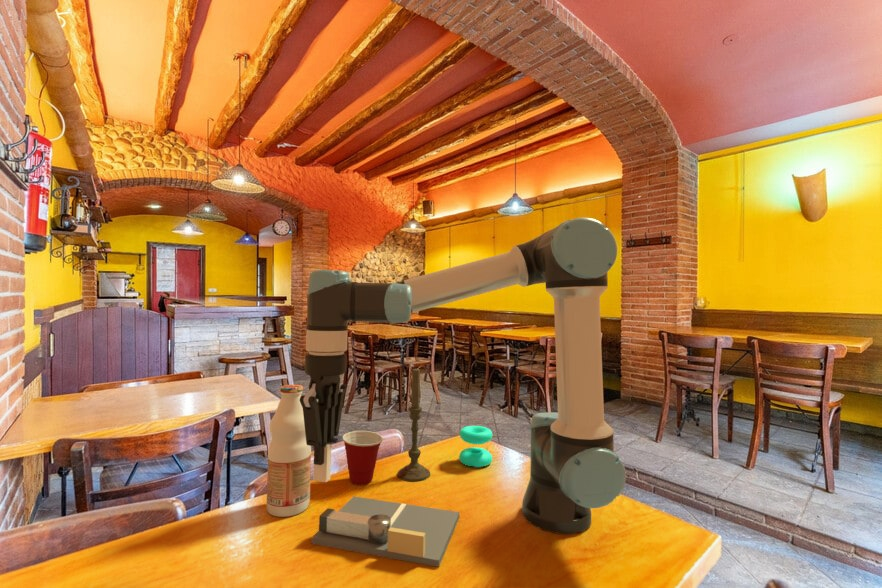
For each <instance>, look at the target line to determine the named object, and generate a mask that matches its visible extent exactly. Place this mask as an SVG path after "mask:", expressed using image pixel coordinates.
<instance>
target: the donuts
mask: <svg viewBox="0 0 882 588" xmlns="http://www.w3.org/2000/svg"><path fill="white" fill-rule="evenodd" d="M459 438H460V439H461V440H462V441H463V442H465V443H467V444H472V445H484V444H486V443H488V442H490V441H491V440H492V439H493V432H492V430H491V429H490V428H489V427H486V426H482V425H467V426H465V427H462V428H461V429H460V430H459ZM458 459H459V461H460V462H461V464H463V465H464V464H465V465H464V466H466V465H468V466H467V467H470V466H475V467H474V468H482V467H481V466H485V467H487V466H489V465H490V464H491V463H492V461H493V455H492V454H491V452H489V451H488V450H487V449H485V448H482V447H477V446H476V447H475V446H472V447H467V448H465V449H464V448H463V450H461V451H460V453H459V456H458ZM486 465H487V466H486Z"/></svg>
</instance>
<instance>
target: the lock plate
mask: <svg viewBox="0 0 882 588" xmlns="http://www.w3.org/2000/svg"><path fill="white" fill-rule="evenodd" d="M338 511H340V512H346V513H352V514H358V515H365V516H371V517H372V516H374V515H378V514H383V515H387V516H389V517H390V518H391V527H390V528H389V530H388V540H387V541H386V542H383V543H373V542H371V541H369V540H368V539H363V538H357V537H352V536H346V535H340V534H335V533H329V532H321V531H319V530H318V531H316V533H314V535H313V536H312V537H311V544H313V545H316V546H317V545H318V546H323V547H329V548H334V549H338V550H345V551H350V552H355V553H360V554H361V553H362V554H366V555H372V556H378V557H382V558H387V559H391V560H392V559H393V560H398V561H404V562H408V563H414V564H415V563H416V564H421V565H424V566H431V567H437V568H439V567H440V565H441V563H442V560H443V558H444V556H445V553H446V551H447V549H448V546H449V544H450V541H451V539H452V536H453V534H454V532H455V529H456V527H457V524H458V522H459V519H460V511H456V510H455V511H454V510H447V509H440V508H436V507H435V508H434V507H428V506H427V507H426V506H421V505H414V504H409V503H407V504H406V503H400V502H395V501H393V502H392V501H388V500H387V501H386V500H382V499H373V498H367V497H362V496H361V497H360V496H352V497H351V498H350V499H349V500H348V502H346V503H345V504H344V505H343V506H342V507H341V508H340V509H339V510H338Z"/></svg>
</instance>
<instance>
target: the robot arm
mask: <svg viewBox="0 0 882 588" xmlns="http://www.w3.org/2000/svg"><path fill="white" fill-rule="evenodd" d="M617 255H618V245H617V241H616V238H615V235H613V232H612V231H611V230H610V229H609V228H608V227H607V226H606V225H605V224H604V223H603V222H601V221H599V220H597V219H595V218H590V217H577V218H573V219H568V220H565V221H563V222H561V223H560V224H559V225H557V226H556V227H553V228H551V229H549V230H547V231H546V232H544V233H542V234H540V235H539V236H536V237H535V238H533V239H531V240H528V241H526V242H523V243H520V244H517V245H514V246H511V249H510V251H508V252H504V253H501V254H498V255H494V256H489V257H485V258H482V259H478V260H475V261H471V262H468V263H463V264H459V265H455V266H453V267H450V268H449V267H448V268H446V269H442V270H438V271H433V272H430V273H427V274H423V275H419V276H414V277H411V278H407V279H404V280H400V281H396V282H357V281H351V277H350V273H349V272H348V271H345V270H333V269H332V270H330V269H316V270H313V271H311V273H309V277H308V287H307V292H306V296H307V301H306V302H307V303H306V304H307V305H306V309H307V310H306V335H305V338H306V339H305V341H306V342H305V350H306V352H308V353H306V355H305V356H304V359H305V360H304V373H305V374H306V375H308V376H309V377H310V380H309V383H308V392H307V394H306V395H303V394H301V397H300V403H301V405H302V408H303V416H304V425H305V434H306V444H307V445H309V446H311V447H313V471H312V472H313V473H312V475H313V476H312V481H315V482H316V481H317V482H321V483H327V482H328V481H330V480H331V475H332V474H331V470H332V469H331V467H332V444H337V442H338V438H336V437H339V434H340V433H339V432H340V427H341V426H340V425H341V419H342V412H343V406H344V398H345V395H346V392H347V388H348V386H347V384H343V383H341V376H342V375H344V374H345V373H347V372H346V371H347V364H348V363H347V361H348V360H347V359H348V356H347V354H346V353H345V352H346V351H348V331H349V330H348V329H349V328H348V327H349V322H354V323H357V322H365V323H387V324H388V323H389V324H397V323H398V324H400V323H402V324H403V323H408V322H409V321H410V320H411V318H412V314H413V313H417V312H421V311H425V310H427V309H431V308H436V307H438V306H442V305H445V304H449V303H453V302H457V301H460V300H465V299H467V298H471V297H475V296H480V295H482V294H485V293H490V292H494V291H498V290H500V289H505V288H508V287H511V286H516V285H520V286H521V287H524V288H525V287H528V286H533V285H536V284H545V291H546V292H547V293H548V294H549V295H550V296H552V299H553V308H554V309H553V310H554V311H553V312H554V314H553V315H554V337H555V342H554V343H555V365H556V367H555V368H556V398H557V412H548V411H547V412H539V413H535V414H533V415H532V417H531V420H530V427H529V430H530V468H529V469H530V475H529V476H530V477H529V481H528V484H527V486H526V487H527V488H526V490H525V493H524V496H523V499H522V504H521V507H522V508H521V509H522V511H521V512H522V516H523V517H524V519H525V520H526V521H527V522H529V524H531V525H532V526H534V527H537V528H539V529H542V530H544V531H547V532H551V533H555V534H567V535H568V534H577V533H581V532H584V531H587V530H588V529H589V528H590V527H591V524H592V510H591V509H600V508H603V507H606V506H608V505H610V504H612V503H613V502H614V500H615V499H616V498H617V497H619V496H620V494H621V493H622V492H623V490H624V488H625V485H626V480H627V473H626V468H625V465H624V463H623V461H622V459H621V457H620V456H619V455H618V454H617V453H616V452H615V444H614V443H615V442H614V429H613V428H612V427H611V426H610V425H609V424H608V423H607V422H606V420H605V412H604V411H605V410H604V408H605V407H604V386H603V385H604V381H603V377H604V376H603V359H602V358H603V357H602V353H603V352H602V331H601V330H602V329H601V303H600V301H601V300H600V298H601V296H602V295H603V294H604V293H605V291H607V289H608V272H609V271H610V270H611V269H612V267H613V266H614V265H615V262H616V260H617Z"/></svg>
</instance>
